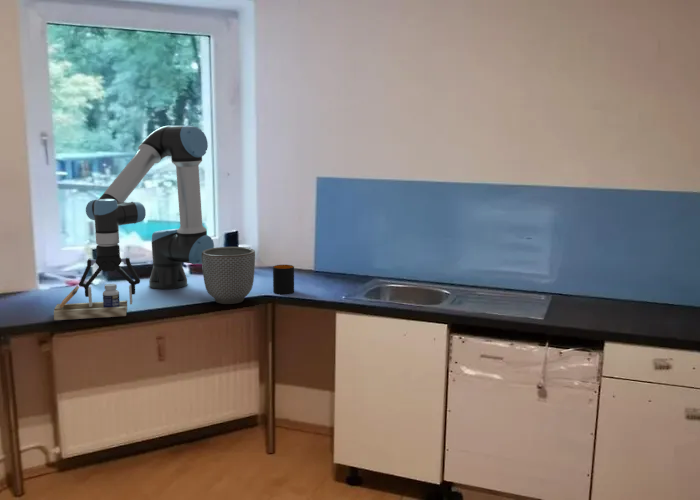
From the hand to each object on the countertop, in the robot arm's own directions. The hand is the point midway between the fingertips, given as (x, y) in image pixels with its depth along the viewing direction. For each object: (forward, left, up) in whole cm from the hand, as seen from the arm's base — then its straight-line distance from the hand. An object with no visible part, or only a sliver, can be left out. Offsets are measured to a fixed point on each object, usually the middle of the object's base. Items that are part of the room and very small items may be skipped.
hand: (111, 304), depth 240 cm
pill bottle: (0, 0, -3) cm, 3 cm away
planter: (-42, -8, -3) cm, 42 cm away
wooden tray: (+6, 0, -3) cm, 7 cm away
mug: (-64, -19, -3) cm, 66 cm away
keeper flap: (+13, 0, +3) cm, 13 cm away
